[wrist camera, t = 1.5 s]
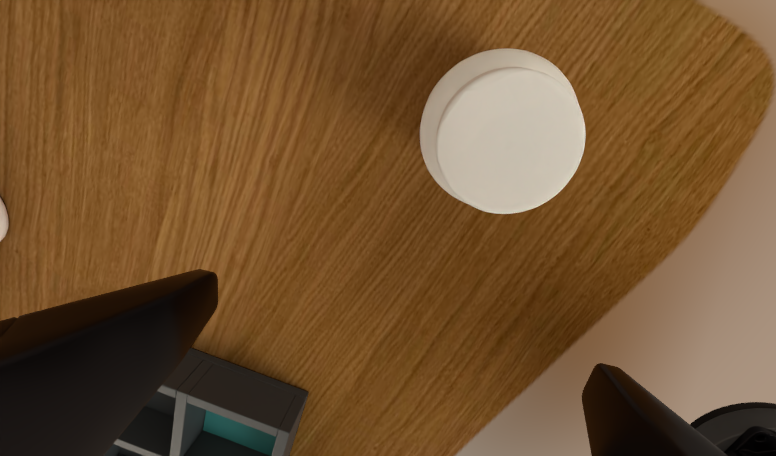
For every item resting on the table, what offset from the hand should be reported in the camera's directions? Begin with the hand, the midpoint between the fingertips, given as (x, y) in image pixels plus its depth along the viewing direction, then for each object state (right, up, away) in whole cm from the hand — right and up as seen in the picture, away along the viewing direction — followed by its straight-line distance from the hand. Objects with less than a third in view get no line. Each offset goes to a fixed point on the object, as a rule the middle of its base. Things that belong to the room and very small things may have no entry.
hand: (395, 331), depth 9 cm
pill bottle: (+5, +8, +10) cm, 14 cm away
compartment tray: (-16, -14, +23) cm, 31 cm away
